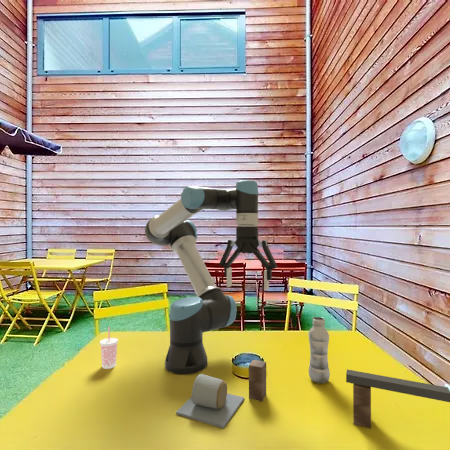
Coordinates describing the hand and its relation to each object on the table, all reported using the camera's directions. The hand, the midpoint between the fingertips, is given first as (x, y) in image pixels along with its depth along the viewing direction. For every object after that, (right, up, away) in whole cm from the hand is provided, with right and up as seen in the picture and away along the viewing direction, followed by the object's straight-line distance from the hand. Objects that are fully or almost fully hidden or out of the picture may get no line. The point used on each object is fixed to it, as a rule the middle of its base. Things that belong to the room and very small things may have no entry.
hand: (247, 288), depth 106 cm
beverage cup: (-49, -29, +5) cm, 57 cm away
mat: (-11, -29, -20) cm, 37 cm away
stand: (+15, -29, -21) cm, 38 cm away
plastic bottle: (+23, -29, -6) cm, 37 cm away
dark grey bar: (+34, -19, -30) cm, 49 cm away
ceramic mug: (-12, -28, -19) cm, 36 cm away
